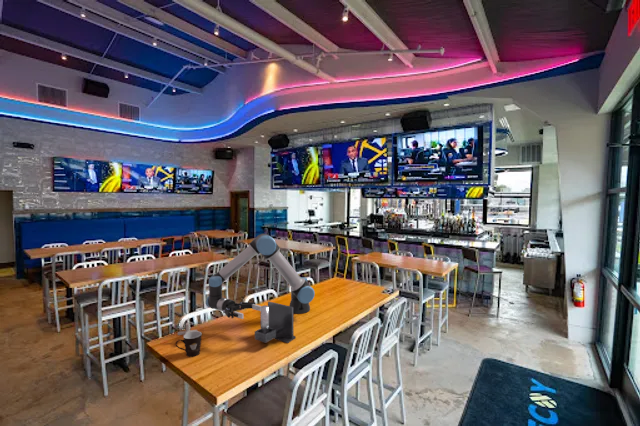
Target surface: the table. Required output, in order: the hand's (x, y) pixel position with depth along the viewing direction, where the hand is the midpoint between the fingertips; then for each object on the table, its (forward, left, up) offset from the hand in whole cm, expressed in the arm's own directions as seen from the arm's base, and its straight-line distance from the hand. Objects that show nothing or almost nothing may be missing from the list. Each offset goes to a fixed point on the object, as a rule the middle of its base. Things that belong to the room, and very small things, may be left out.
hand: (252, 312), depth 172 cm
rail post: (0, +10, -11) cm, 15 cm away
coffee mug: (+28, -16, -16) cm, 36 cm away
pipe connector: (+20, -30, -16) cm, 40 cm away
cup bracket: (-5, +10, -16) cm, 20 cm away
